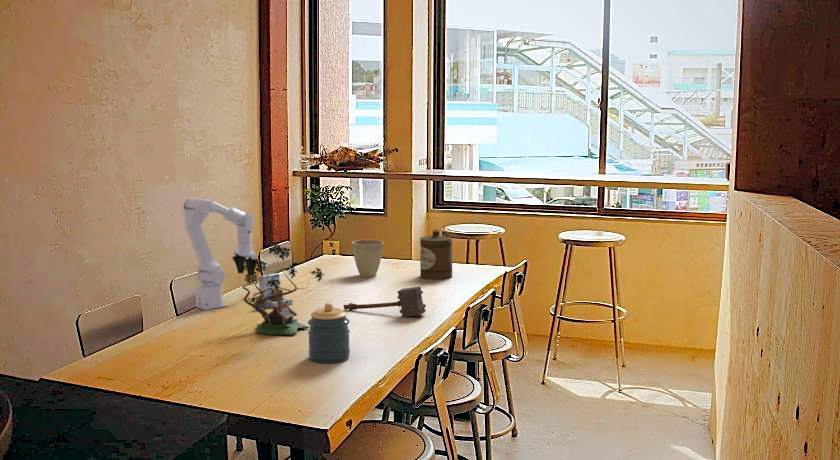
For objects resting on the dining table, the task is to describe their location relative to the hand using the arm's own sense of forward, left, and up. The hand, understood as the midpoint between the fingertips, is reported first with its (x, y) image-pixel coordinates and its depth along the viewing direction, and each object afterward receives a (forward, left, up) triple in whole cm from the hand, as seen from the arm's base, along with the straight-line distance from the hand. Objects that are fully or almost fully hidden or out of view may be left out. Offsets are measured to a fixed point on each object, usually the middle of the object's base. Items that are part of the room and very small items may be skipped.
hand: (245, 274), depth 352 cm
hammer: (+24, -58, -10) cm, 64 cm away
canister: (-26, -91, -10) cm, 95 cm away
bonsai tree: (-20, -57, -10) cm, 61 cm away
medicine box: (+10, -2, -10) cm, 14 cm away
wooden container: (+88, -22, -10) cm, 91 cm away
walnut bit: (+3, -19, -10) cm, 21 cm away
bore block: (+2, -19, -10) cm, 21 cm away
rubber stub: (-6, -21, -10) cm, 24 cm away
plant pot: (+66, +1, -10) cm, 67 cm away
